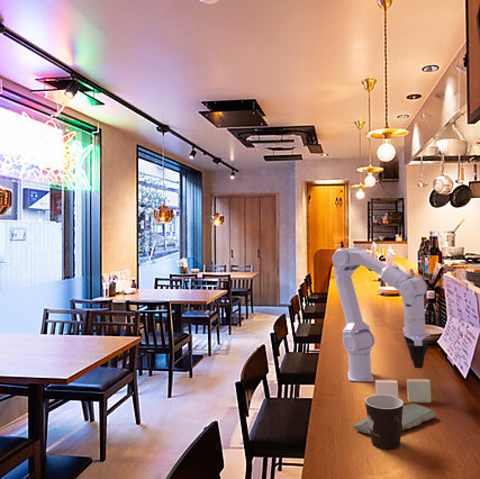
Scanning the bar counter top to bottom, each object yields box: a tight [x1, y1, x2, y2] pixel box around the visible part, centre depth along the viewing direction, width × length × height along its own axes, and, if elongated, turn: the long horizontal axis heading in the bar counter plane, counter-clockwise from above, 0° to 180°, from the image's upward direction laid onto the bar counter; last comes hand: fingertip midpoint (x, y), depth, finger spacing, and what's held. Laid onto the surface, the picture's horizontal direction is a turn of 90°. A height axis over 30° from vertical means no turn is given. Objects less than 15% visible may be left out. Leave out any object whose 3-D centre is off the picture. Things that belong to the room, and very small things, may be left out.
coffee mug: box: [364, 394, 404, 451], centre depth 103 cm, size 12×9×10 cm
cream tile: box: [374, 379, 399, 398], centre depth 129 cm, size 2×6×6 cm, turn 79°
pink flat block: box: [406, 378, 432, 403], centre depth 128 cm, size 2×6×6 cm, turn 79°
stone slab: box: [353, 402, 437, 435], centre depth 114 cm, size 22×3×10 cm
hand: (416, 363), depth 132 cm, fingers open, 7 cm apart
